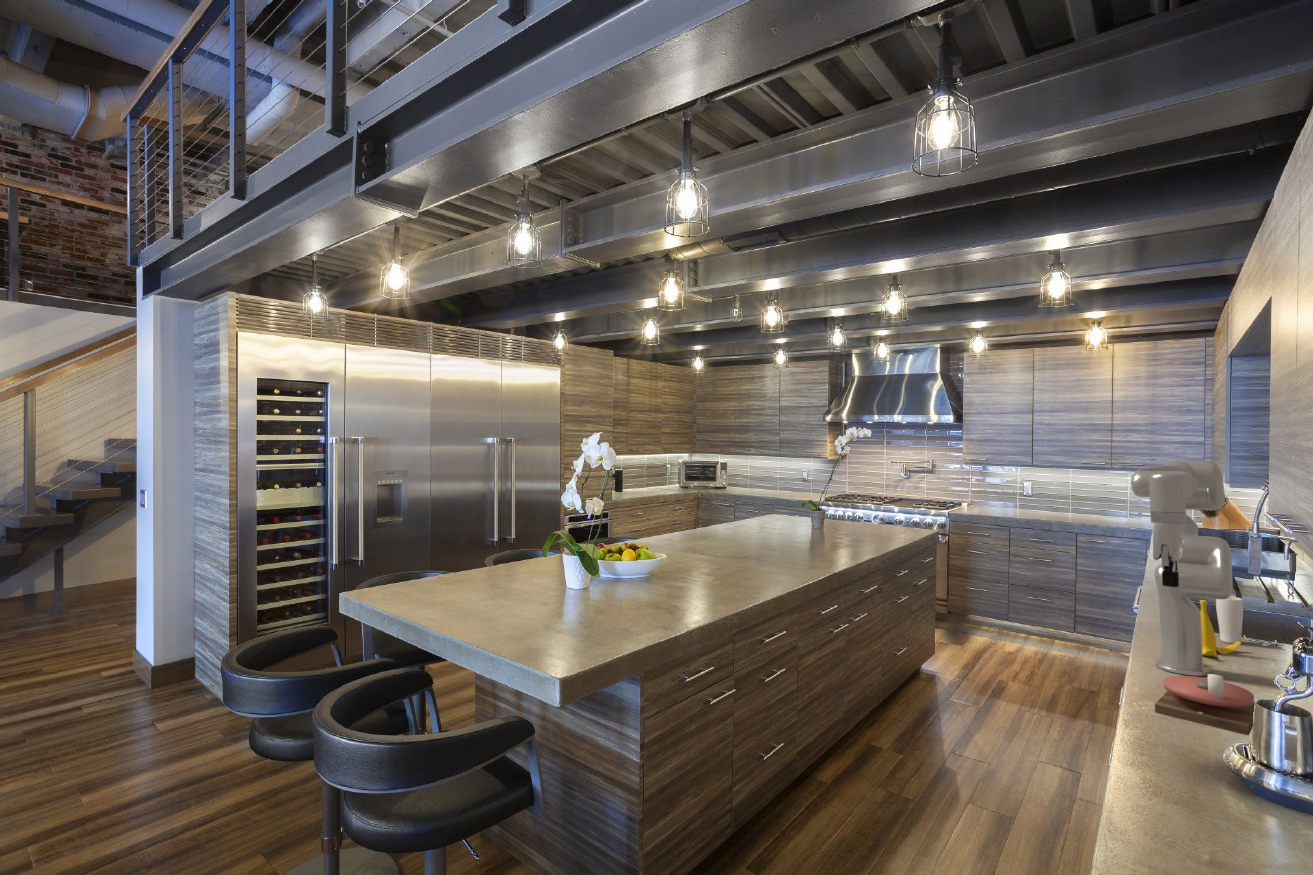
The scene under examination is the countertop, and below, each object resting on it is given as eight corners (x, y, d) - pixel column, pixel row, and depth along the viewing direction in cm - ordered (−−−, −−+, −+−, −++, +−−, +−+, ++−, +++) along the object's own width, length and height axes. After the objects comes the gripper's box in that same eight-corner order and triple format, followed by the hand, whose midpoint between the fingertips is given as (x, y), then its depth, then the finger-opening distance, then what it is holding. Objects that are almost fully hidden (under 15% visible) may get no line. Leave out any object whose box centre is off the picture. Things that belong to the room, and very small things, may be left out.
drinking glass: (1250, 645, 209) (1248, 599, 209) (1229, 645, 209) (1227, 600, 209) (1231, 639, 216) (1230, 595, 216) (1212, 639, 216) (1210, 595, 216)
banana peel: (1165, 642, 213) (1164, 593, 214) (1241, 651, 203) (1238, 600, 203) (1171, 656, 200) (1169, 603, 200) (1252, 666, 189) (1250, 611, 189)
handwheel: (1174, 700, 153) (1173, 673, 153) (1156, 677, 168) (1155, 653, 169) (1266, 712, 146) (1265, 683, 146) (1238, 687, 161) (1237, 661, 161)
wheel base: (1173, 691, 170) (1173, 676, 170) (1261, 711, 157) (1260, 694, 157) (1155, 712, 157) (1154, 695, 157) (1248, 735, 144) (1247, 716, 144)
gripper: (1157, 515, 177) (1160, 580, 177) (1143, 519, 167) (1146, 588, 167) (1192, 517, 171) (1194, 584, 171) (1179, 521, 162) (1182, 592, 161)
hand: (1170, 585), depth 169 cm, fingers closed
